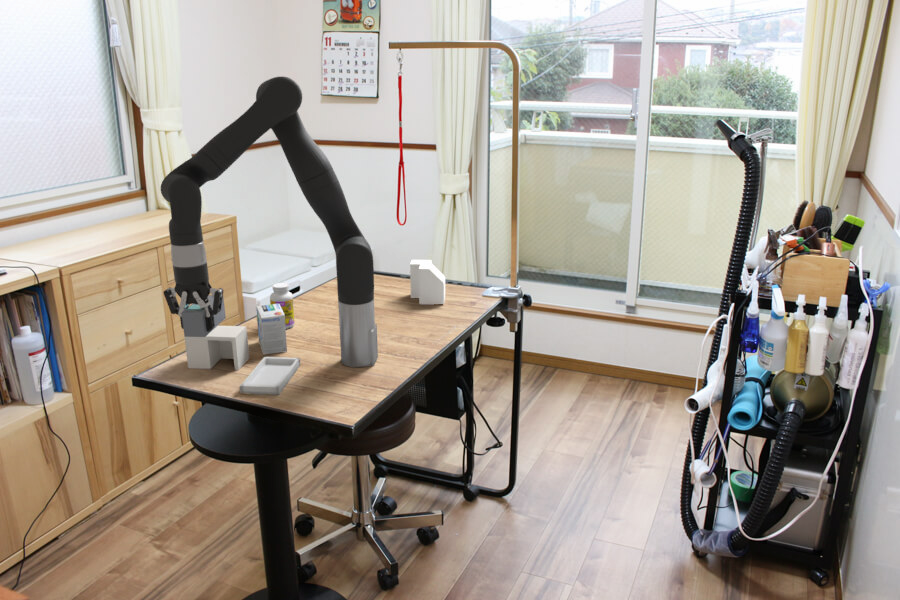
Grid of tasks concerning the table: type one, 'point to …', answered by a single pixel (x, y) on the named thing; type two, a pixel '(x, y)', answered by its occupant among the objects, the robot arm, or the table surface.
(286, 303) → the supplement bottle
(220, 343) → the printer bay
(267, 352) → the light bulb box
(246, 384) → the tray
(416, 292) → the corner bracket
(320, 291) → the table surface
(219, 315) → the slab with teal patch
